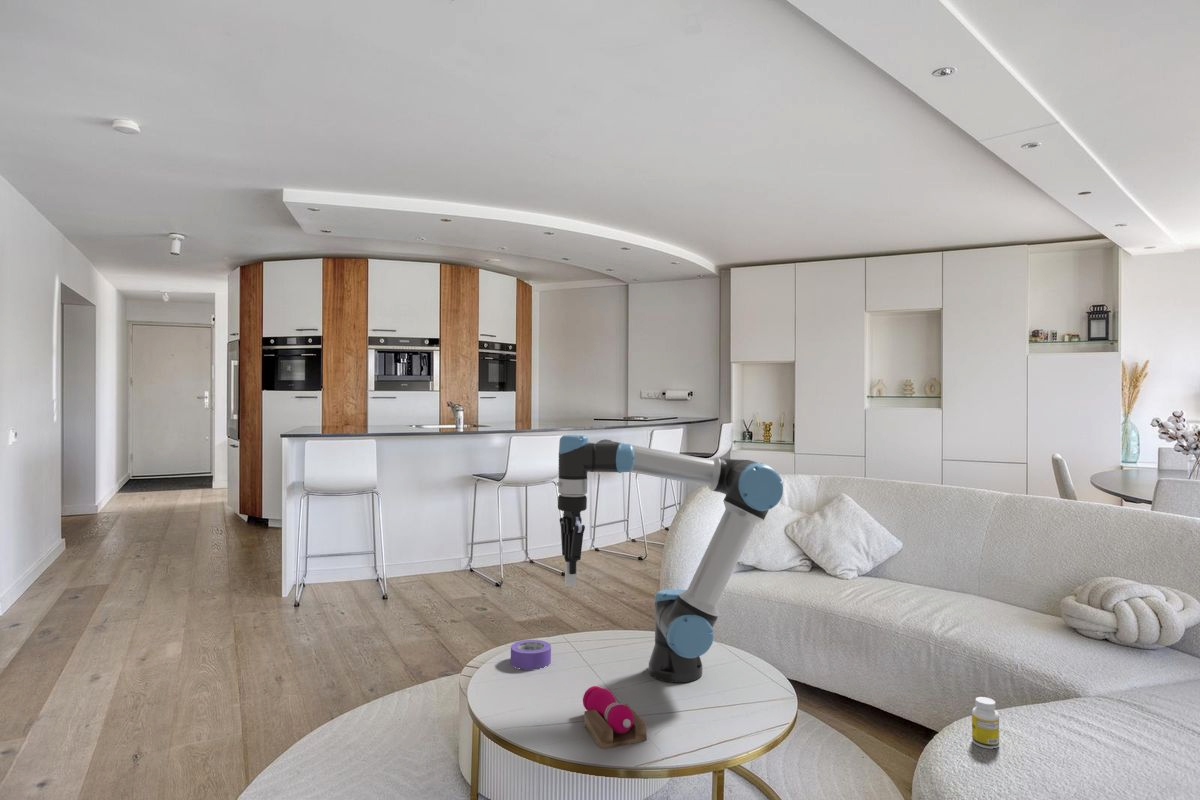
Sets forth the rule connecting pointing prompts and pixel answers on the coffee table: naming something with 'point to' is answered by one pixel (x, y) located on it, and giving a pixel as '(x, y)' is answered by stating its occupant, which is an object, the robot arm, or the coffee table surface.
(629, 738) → the cradle
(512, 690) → the coffee table surface
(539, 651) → the tape roll
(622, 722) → the pepper mill
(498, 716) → the coffee table surface
